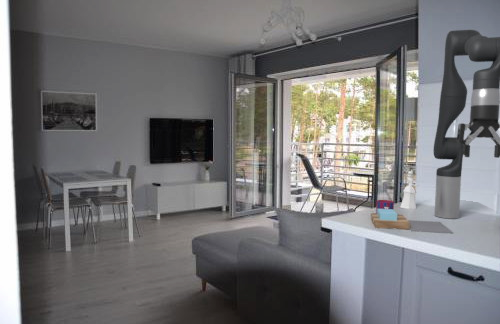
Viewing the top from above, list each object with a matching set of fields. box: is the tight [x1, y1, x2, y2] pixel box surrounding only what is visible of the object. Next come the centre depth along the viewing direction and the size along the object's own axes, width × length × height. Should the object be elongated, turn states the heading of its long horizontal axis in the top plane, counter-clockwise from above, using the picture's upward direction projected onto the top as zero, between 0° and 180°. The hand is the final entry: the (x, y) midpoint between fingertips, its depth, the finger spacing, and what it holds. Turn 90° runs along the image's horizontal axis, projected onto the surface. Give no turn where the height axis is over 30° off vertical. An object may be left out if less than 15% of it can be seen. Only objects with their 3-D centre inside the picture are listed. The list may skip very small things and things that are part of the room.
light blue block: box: [377, 209, 398, 221], centre depth 149 cm, size 9×6×2 cm, turn 169°
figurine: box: [399, 169, 420, 210], centre depth 182 cm, size 7×8×18 cm
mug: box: [375, 199, 395, 214], centre depth 163 cm, size 7×10×7 cm
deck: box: [370, 212, 410, 230], centre depth 149 cm, size 14×12×2 cm
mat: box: [407, 219, 454, 234], centre depth 146 cm, size 16×14×1 cm
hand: (481, 157), depth 121 cm, fingers open, 8 cm apart
